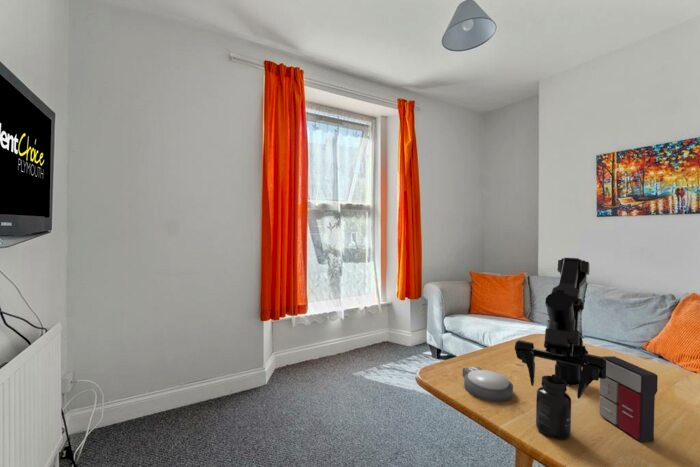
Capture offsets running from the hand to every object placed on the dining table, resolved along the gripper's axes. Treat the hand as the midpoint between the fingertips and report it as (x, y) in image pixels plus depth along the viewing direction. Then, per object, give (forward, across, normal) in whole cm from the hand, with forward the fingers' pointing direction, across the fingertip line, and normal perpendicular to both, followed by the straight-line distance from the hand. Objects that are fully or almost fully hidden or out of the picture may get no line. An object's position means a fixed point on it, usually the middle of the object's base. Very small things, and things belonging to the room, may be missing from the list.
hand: (554, 391), depth 75 cm
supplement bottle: (+7, 0, +6) cm, 9 cm away
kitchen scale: (-1, -19, +14) cm, 23 cm away
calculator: (-2, +13, +15) cm, 20 cm away
